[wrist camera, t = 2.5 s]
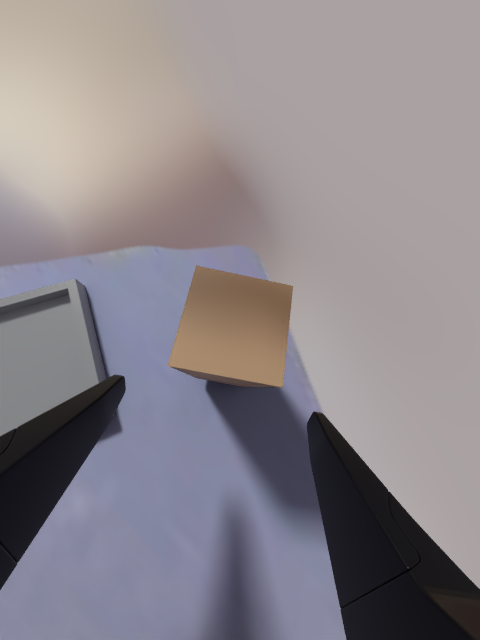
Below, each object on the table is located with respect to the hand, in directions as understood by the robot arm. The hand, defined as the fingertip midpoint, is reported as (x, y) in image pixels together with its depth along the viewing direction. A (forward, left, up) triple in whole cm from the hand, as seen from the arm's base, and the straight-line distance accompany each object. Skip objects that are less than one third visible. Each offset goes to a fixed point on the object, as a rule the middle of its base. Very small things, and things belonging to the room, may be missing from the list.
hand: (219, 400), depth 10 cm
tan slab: (+3, -1, -11) cm, 11 cm away
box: (+4, +18, -11) cm, 21 cm away
